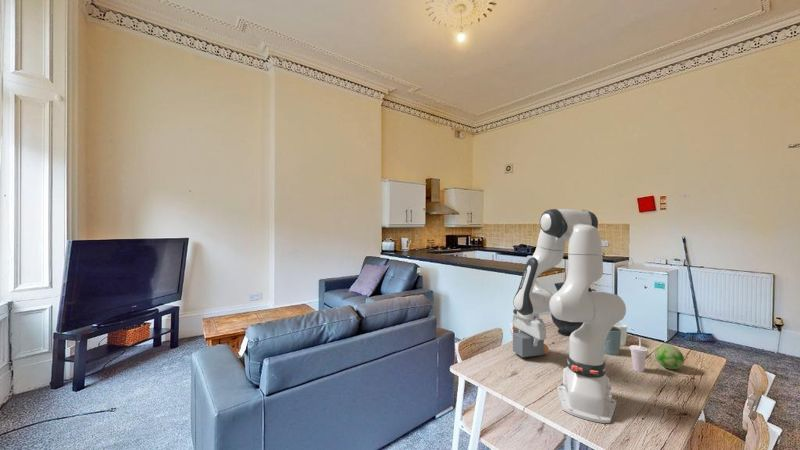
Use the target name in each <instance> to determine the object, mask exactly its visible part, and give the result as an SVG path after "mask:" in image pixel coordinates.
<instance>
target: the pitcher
mask: <svg viewBox="0 0 800 450" xmlns="http://www.w3.org/2000/svg"><path fill="white" fill-rule="evenodd" d="M564 283H565V281H561V282H556V283H554V287H555V289H556V292H557V291H559V290H560V289H561V287H562V286H563V284H564ZM588 292H593V291H592V288H591V286H590V287H589V289H588ZM550 314H551V315H550V316H551V320H552V322H553V324H554V325H555V326H556V328H557V333H558V334H560V335H562V336H566V337H570V335H571V333H572V332H573V331H575V330H577V329H579V328H580V327H581V326H582V325H583V323H584V322H568V321H563V320H559V319H556V318H555V317H554V316H553V315H552V313H551V312H550Z"/></svg>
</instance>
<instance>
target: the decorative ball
mask: <svg viewBox="0 0 800 450" xmlns="http://www.w3.org/2000/svg"><path fill="white" fill-rule="evenodd" d="M654 358H655V360H656V361H657V362H658V363H659V364H660V365H661V366H662V367H663V368H665V369H669V370H677V369H678V370H679V369H680V368H682V367H683V365H684V363H685V356H684V355H683V353H682V351H681V350H680V349H679V348H678V347H675V346H673V345H672V344H671V345H670V344H662V345H660V346H658V347H656V349H655V350H654Z"/></svg>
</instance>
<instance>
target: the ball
mask: <svg viewBox="0 0 800 450" xmlns="http://www.w3.org/2000/svg"><path fill="white" fill-rule="evenodd" d="M549 351H550V349H549V346H548V344H545V343H544V354H543V355H546V354H548V353H549Z"/></svg>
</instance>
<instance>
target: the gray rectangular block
mask: <svg viewBox="0 0 800 450" xmlns="http://www.w3.org/2000/svg"><path fill="white" fill-rule="evenodd" d="M533 341H534V339H533V336H531V335H529V334H527V333H525V332H519V331H518V332H513V333H512V352H513V353H515V354H516V355H518V356H520V357H521V358H527V357H535V356H542V355H543V356H544V355H545V354H544V344H545V339H544V340H539V341H538V342H537V346H533V345H532V342H533Z"/></svg>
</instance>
